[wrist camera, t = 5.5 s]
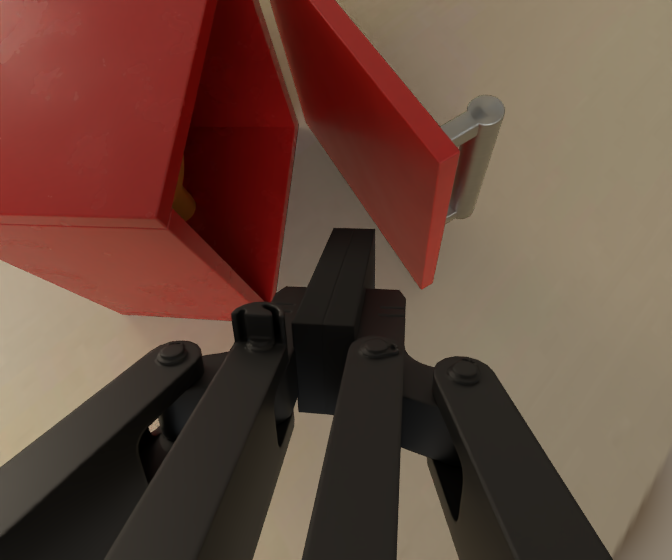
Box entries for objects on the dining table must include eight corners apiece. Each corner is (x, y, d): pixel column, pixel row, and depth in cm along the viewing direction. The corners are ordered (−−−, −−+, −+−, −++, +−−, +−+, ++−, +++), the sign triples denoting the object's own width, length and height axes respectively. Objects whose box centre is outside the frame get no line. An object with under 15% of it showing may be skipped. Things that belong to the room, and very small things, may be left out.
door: (362, 90, 32) (339, -130, 19) (487, 250, 27) (561, 92, 15) (305, 122, 31) (245, -80, 19) (421, 290, 27) (439, 163, 14)
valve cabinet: (298, 124, 32) (228, -95, 19) (272, 323, 28) (156, 218, 14) (167, 125, 33) (16, -78, 20) (121, 314, 29) (-108, 211, 16)
